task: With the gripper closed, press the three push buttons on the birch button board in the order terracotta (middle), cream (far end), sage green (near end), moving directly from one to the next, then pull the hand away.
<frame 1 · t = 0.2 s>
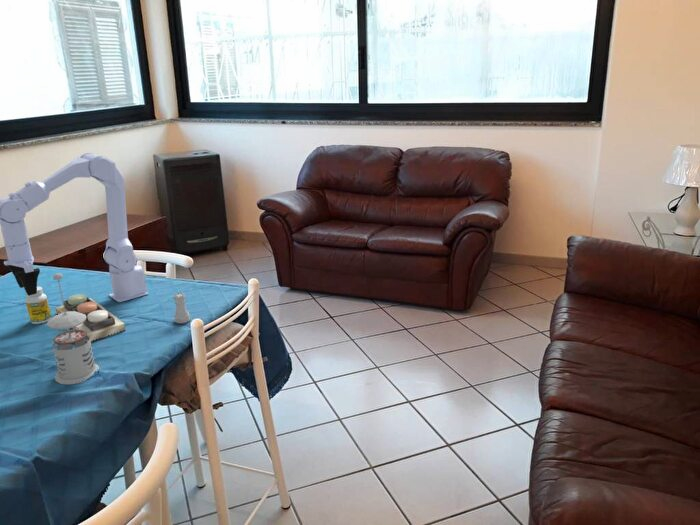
hand: (28, 290, 157), 10 cm above the table, tool pointing down, fingers open, 7 cm apart
button sage: (77, 300, 165), point 4 cm above the table, slide at 0.0 cm
button board: (89, 321, 161), on the table
french press: (78, 372, 136), on the table
supplement bottle: (41, 321, 163), on the table
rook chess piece: (182, 321, 161), on the table
button cream: (98, 317, 154), point 4 cm above the table, slide at 0.0 cm
button terracotta: (87, 308, 160), point 4 cm above the table, slide at 0.0 cm
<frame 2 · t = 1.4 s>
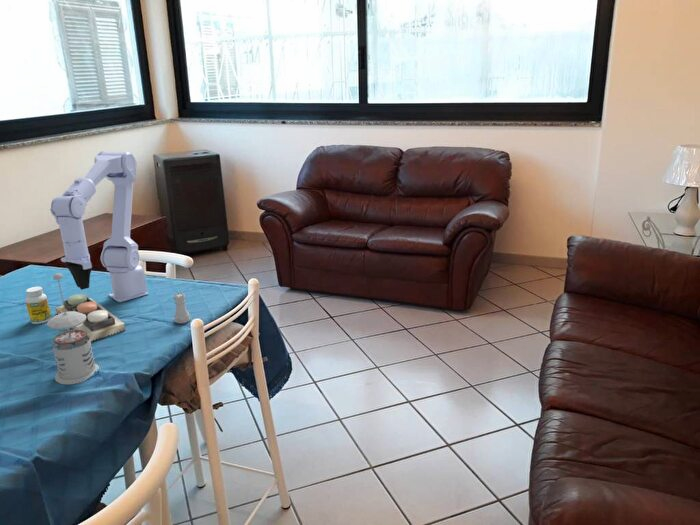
hand: (83, 287, 158), 10 cm above the table, tool pointing down, fingers closed
nothing on the table moved.
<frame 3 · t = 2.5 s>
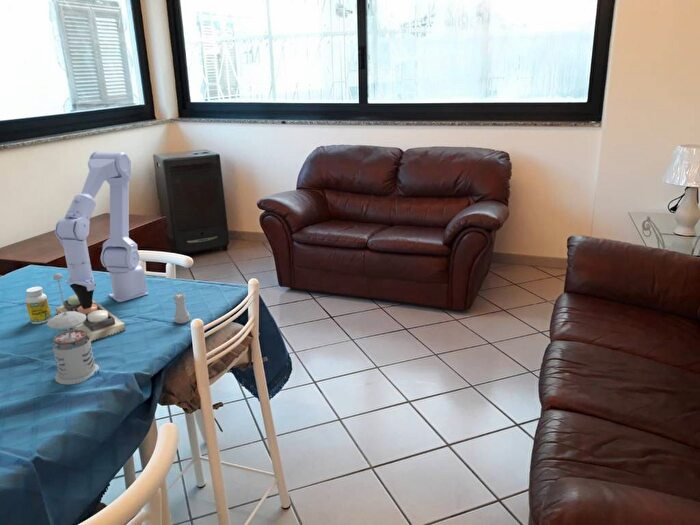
hand: (87, 307, 160), 4 cm above the table, tool pointing down, fingers closed, pressing on button terracotta
button terracotta: (87, 310, 160), point 3 cm above the table, slide at 0.6 cm, touching gripper
everything else where it was.
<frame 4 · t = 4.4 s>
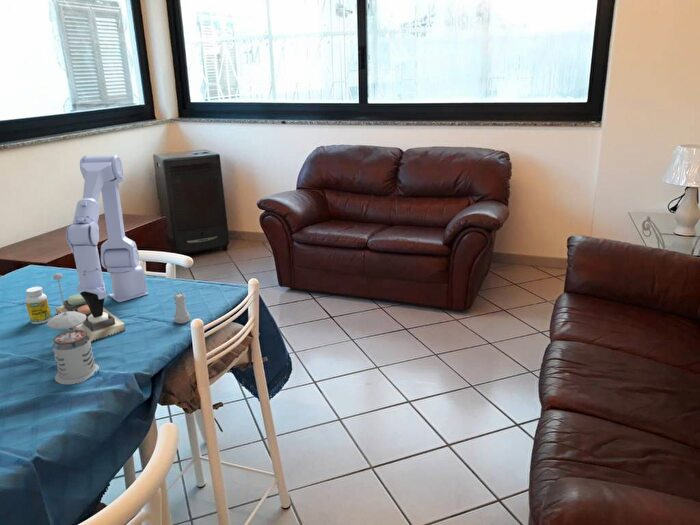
hand: (97, 316, 154), 4 cm above the table, tool pointing down, fingers closed, pressing on button cream
button cream: (98, 319, 154), point 3 cm above the table, slide at 0.6 cm, touching gripper
button terracotta: (87, 311, 160), point 3 cm above the table, slide at 0.8 cm
everything else where it was.
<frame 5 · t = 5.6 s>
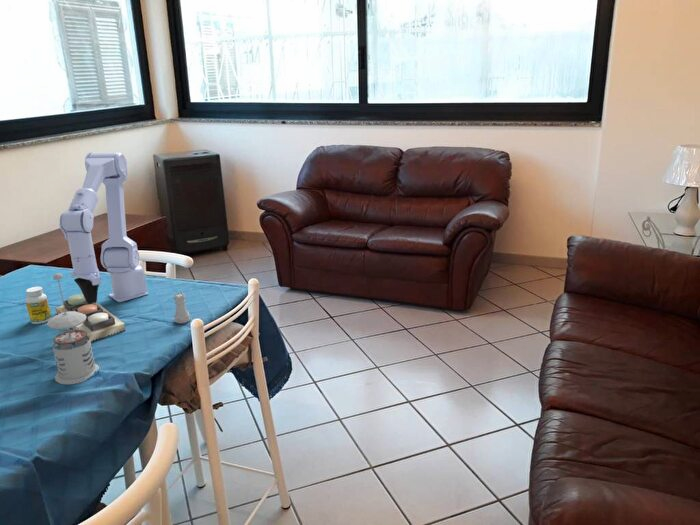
hand: (91, 302, 155), 7 cm above the table, tool pointing down, fingers closed
button cream: (98, 320, 155), point 3 cm above the table, slide at 0.8 cm
everything else where it was.
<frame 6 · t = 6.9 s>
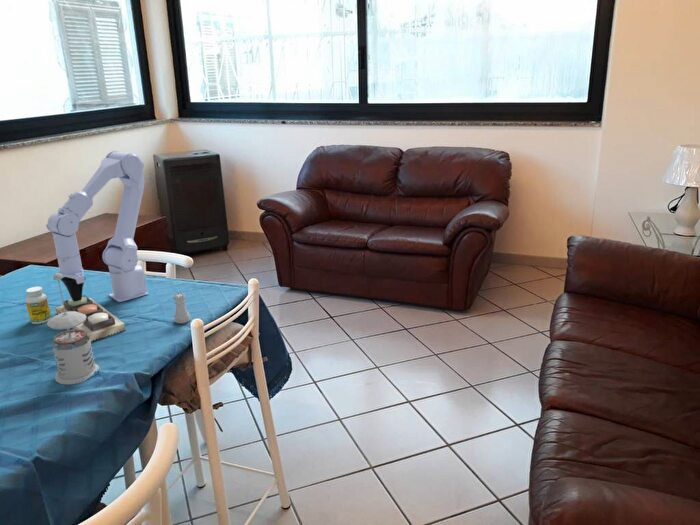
hand: (77, 300, 165), 4 cm above the table, tool pointing down, fingers closed, pressing on button sage
button sage: (77, 303, 166), point 3 cm above the table, slide at 0.8 cm, touching gripper
everything else where it was.
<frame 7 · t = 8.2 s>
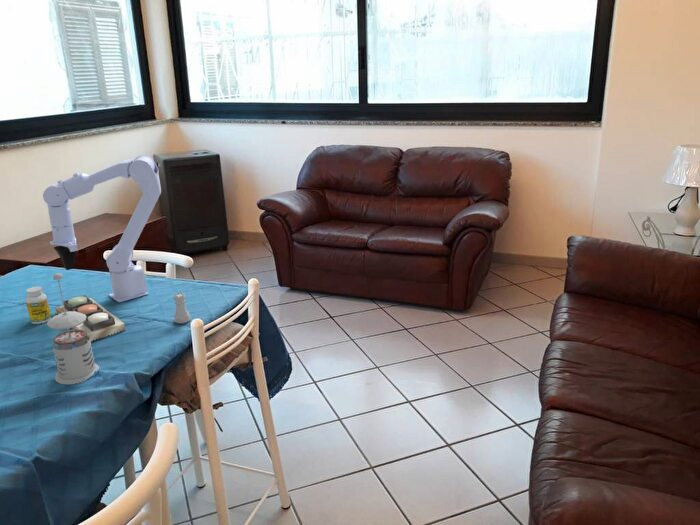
hand: (69, 268, 172), 10 cm above the table, tool pointing down, fingers closed
button sage: (77, 303, 166), point 3 cm above the table, slide at 0.8 cm
everything else where it was.
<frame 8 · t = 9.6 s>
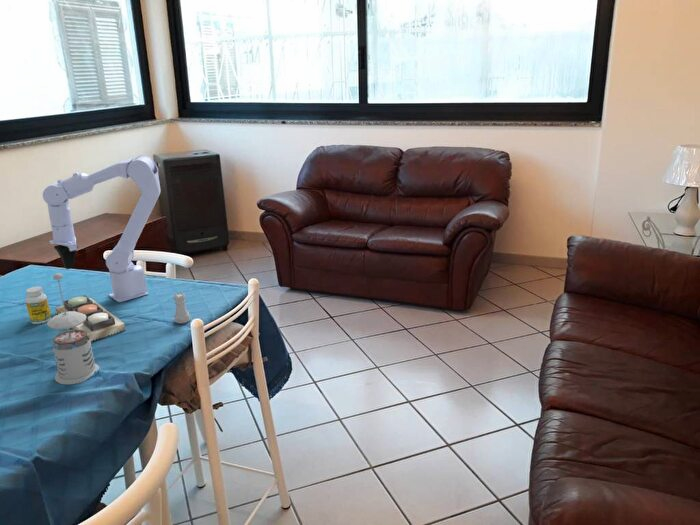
hand: (69, 268, 173), 10 cm above the table, tool pointing down, fingers closed
nothing on the table moved.
at the end: button terracotta slide at 0.8 cm; button cream slide at 0.8 cm; button sage slide at 0.8 cm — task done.
